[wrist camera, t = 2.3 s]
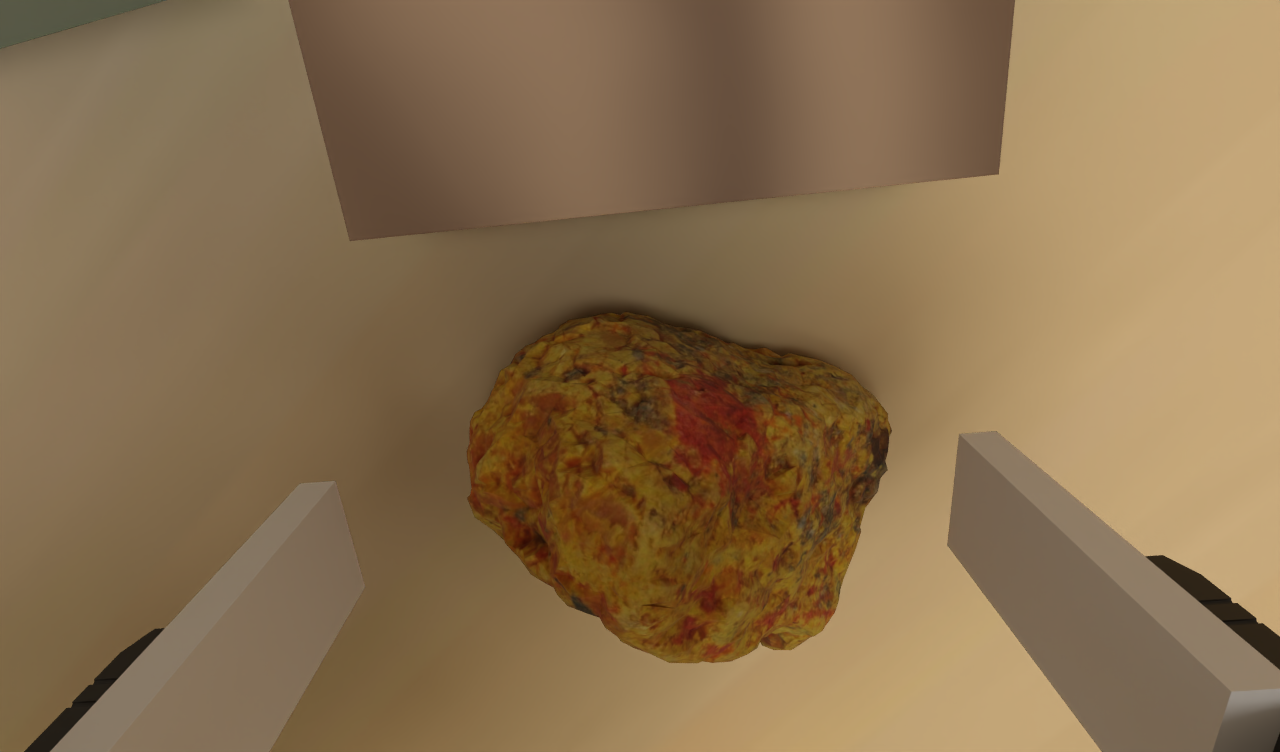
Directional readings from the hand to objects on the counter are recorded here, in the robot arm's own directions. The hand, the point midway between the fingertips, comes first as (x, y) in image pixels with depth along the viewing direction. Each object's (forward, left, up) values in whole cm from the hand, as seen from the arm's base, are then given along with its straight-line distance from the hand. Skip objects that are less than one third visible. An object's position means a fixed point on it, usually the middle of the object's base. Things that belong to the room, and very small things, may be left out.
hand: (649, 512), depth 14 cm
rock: (-2, 0, -7) cm, 8 cm away
